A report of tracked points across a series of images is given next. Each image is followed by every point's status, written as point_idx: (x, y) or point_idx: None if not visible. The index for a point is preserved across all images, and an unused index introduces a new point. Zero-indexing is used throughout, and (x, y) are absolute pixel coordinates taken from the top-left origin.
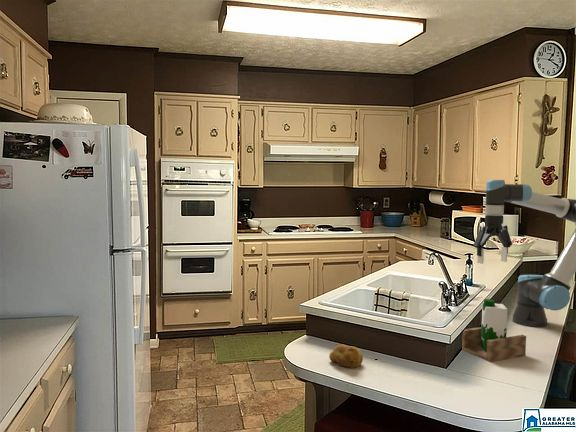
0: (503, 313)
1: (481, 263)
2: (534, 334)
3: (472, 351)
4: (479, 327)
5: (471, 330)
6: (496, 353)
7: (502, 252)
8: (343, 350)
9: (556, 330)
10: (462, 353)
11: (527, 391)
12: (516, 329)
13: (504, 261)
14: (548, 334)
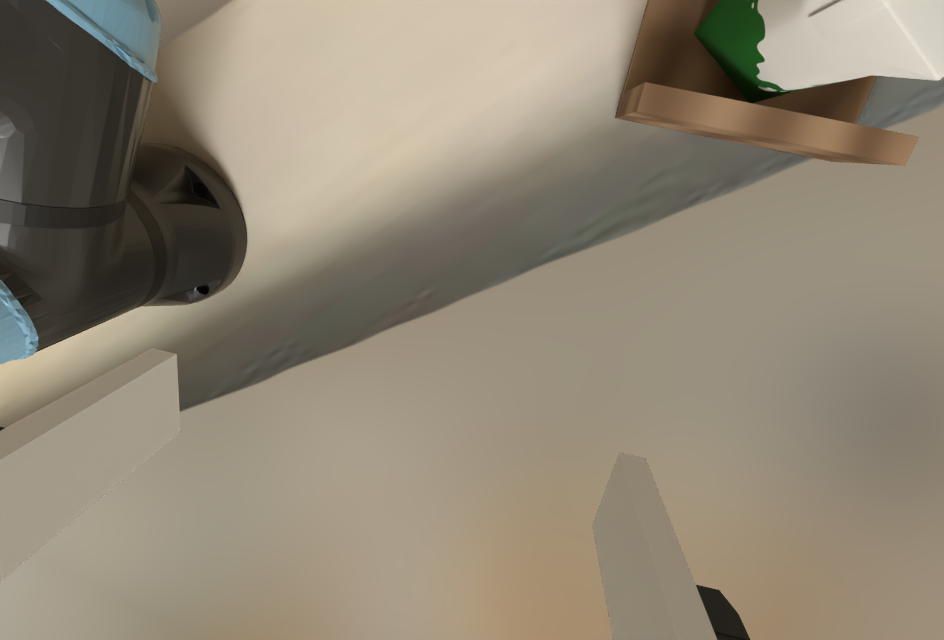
0: None
1: (644, 468)
2: (314, 91)
3: (871, 77)
4: (771, 133)
5: (864, 126)
6: None
7: (54, 509)
8: None
9: (156, 66)
10: (901, 108)
11: None
12: (326, 193)
13: (175, 375)
14: (249, 48)
